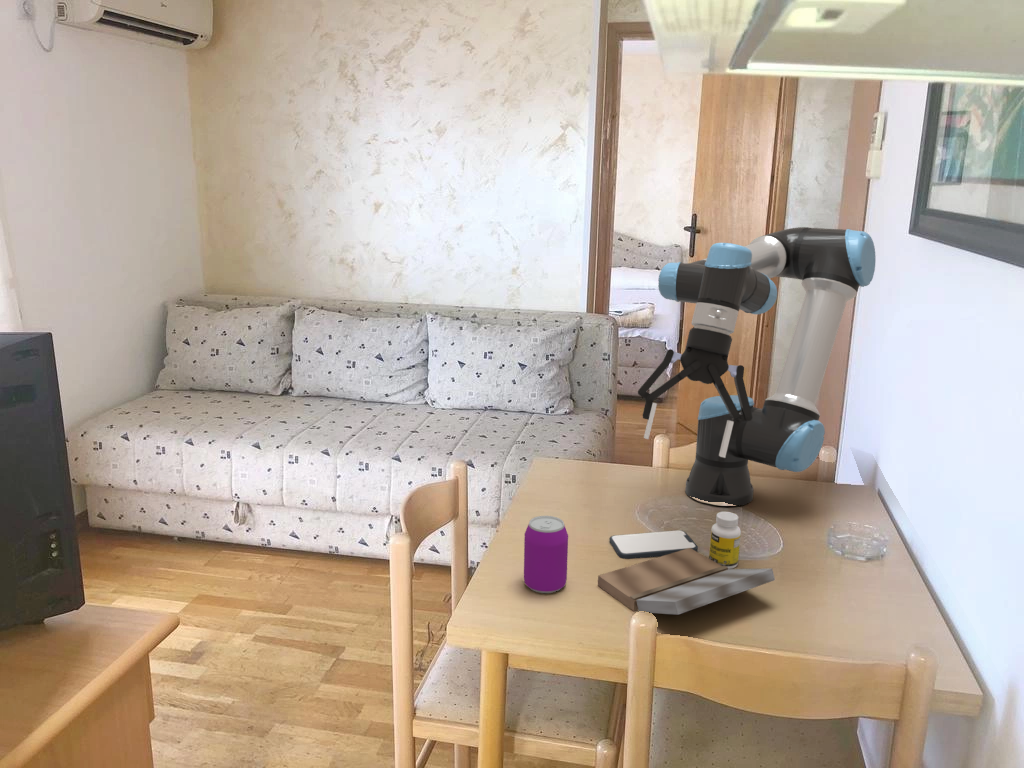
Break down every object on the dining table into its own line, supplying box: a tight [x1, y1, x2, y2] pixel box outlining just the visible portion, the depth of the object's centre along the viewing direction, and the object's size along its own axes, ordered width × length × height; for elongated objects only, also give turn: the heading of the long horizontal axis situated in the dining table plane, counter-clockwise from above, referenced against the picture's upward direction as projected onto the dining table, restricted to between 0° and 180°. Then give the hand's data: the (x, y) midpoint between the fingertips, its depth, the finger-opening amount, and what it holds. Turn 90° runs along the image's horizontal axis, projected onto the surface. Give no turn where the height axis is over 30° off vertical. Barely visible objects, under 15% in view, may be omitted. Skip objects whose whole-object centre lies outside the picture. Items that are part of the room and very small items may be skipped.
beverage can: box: [523, 515, 569, 594], centre depth 142 cm, size 8×8×12 cm
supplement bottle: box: [708, 511, 742, 570], centre depth 151 cm, size 5×5×10 cm
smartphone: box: [608, 529, 699, 560], centre depth 158 cm, size 9×2×16 cm
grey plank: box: [636, 567, 776, 615], centre depth 135 cm, size 22×10×2 cm, turn 121°
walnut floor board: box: [597, 548, 729, 612], centre depth 144 cm, size 22×10×2 cm, turn 121°
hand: (683, 447), depth 142 cm, fingers open, 13 cm apart
